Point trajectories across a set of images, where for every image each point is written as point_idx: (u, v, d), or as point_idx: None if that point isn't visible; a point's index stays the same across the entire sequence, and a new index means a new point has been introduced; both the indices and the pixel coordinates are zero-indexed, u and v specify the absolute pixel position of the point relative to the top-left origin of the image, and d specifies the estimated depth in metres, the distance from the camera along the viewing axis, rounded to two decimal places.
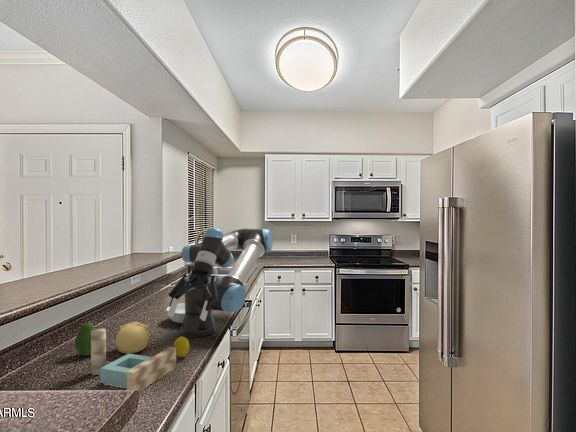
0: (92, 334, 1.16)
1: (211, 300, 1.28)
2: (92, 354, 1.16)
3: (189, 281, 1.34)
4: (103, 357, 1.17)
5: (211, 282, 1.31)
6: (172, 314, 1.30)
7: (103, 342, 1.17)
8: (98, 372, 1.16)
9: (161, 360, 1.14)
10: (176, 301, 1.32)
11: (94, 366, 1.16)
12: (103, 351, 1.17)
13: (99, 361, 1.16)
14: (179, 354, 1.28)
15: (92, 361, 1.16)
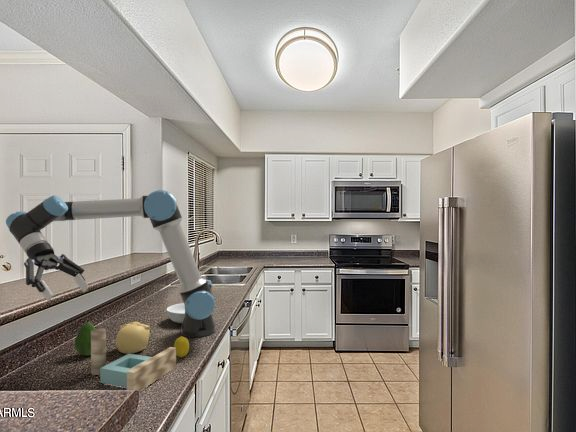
0: (92, 334, 1.16)
1: None
2: (92, 354, 1.16)
3: None
4: (103, 357, 1.17)
5: None
6: (84, 287, 1.28)
7: (103, 342, 1.17)
8: (98, 372, 1.16)
9: (161, 360, 1.14)
10: (76, 277, 1.29)
11: (94, 366, 1.16)
12: (103, 351, 1.17)
13: (99, 361, 1.16)
14: (179, 354, 1.28)
15: (92, 361, 1.16)
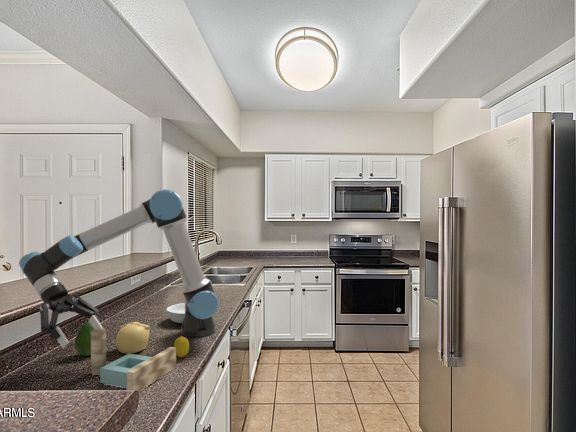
0: (92, 334, 1.16)
1: None
2: (92, 354, 1.16)
3: None
4: (103, 357, 1.17)
5: None
6: None
7: (103, 342, 1.17)
8: (98, 372, 1.16)
9: (161, 360, 1.14)
10: (91, 319, 1.26)
11: (94, 366, 1.16)
12: (103, 351, 1.17)
13: (99, 361, 1.16)
14: (179, 354, 1.28)
15: (92, 361, 1.16)
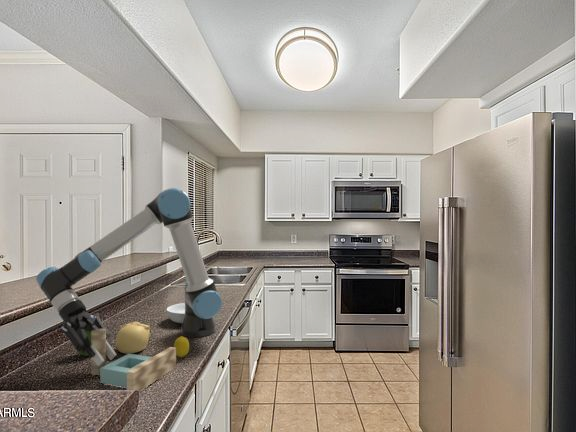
0: (92, 334, 1.16)
1: (85, 350, 1.15)
2: None
3: None
4: (103, 357, 1.17)
5: None
6: (111, 354, 1.19)
7: (103, 342, 1.17)
8: (98, 372, 1.16)
9: (161, 360, 1.14)
10: None
11: (94, 366, 1.16)
12: (103, 351, 1.17)
13: None
14: (179, 354, 1.28)
15: (92, 361, 1.16)
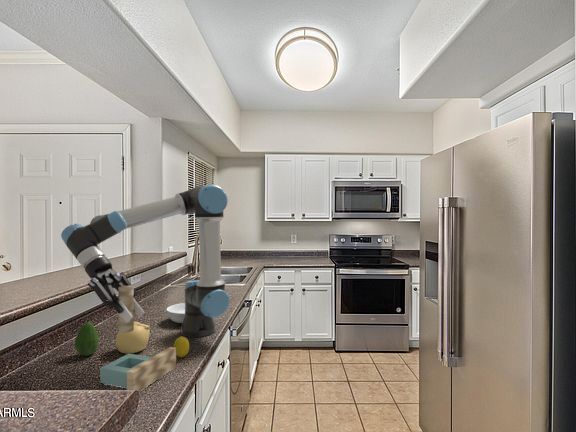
0: (120, 290, 1.12)
1: (113, 305, 1.11)
2: None
3: (111, 284, 1.18)
4: None
5: None
6: (139, 312, 1.15)
7: (131, 298, 1.13)
8: (126, 329, 1.12)
9: (161, 360, 1.14)
10: None
11: (122, 323, 1.12)
12: (131, 308, 1.13)
13: None
14: (179, 354, 1.28)
15: (120, 318, 1.12)
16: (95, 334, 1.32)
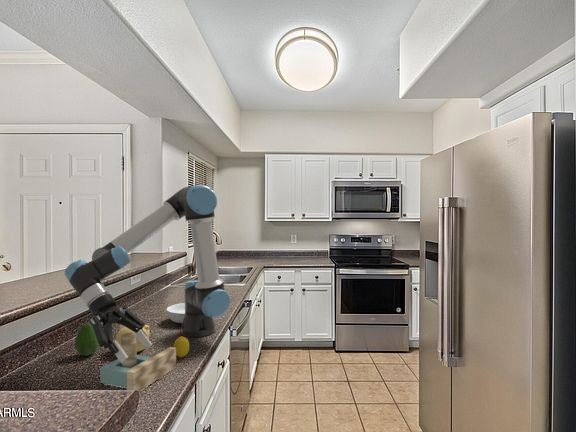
0: (123, 339, 1.12)
1: (106, 345, 1.08)
2: None
3: None
4: (134, 362, 1.13)
5: None
6: (147, 344, 1.18)
7: (134, 347, 1.13)
8: None
9: (161, 360, 1.14)
10: (138, 334, 1.19)
11: None
12: (134, 356, 1.13)
13: (130, 367, 1.12)
14: (179, 354, 1.28)
15: None
16: None
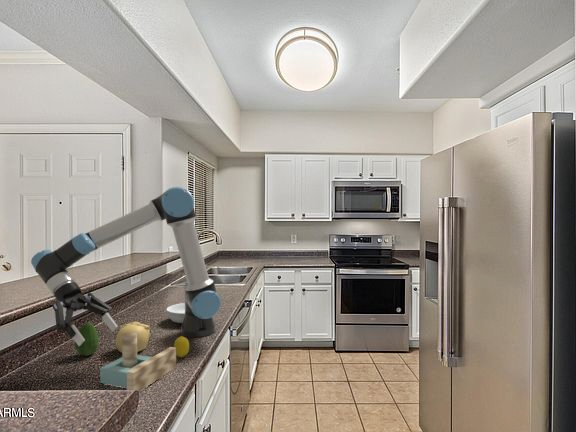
0: (124, 338, 1.12)
1: (64, 329, 1.12)
2: (124, 359, 1.12)
3: None
4: (135, 362, 1.13)
5: None
6: (113, 326, 1.24)
7: (135, 347, 1.13)
8: None
9: (161, 360, 1.14)
10: (105, 317, 1.25)
11: None
12: (135, 356, 1.13)
13: (131, 367, 1.12)
14: (179, 354, 1.28)
15: (124, 366, 1.12)
16: (95, 334, 1.32)
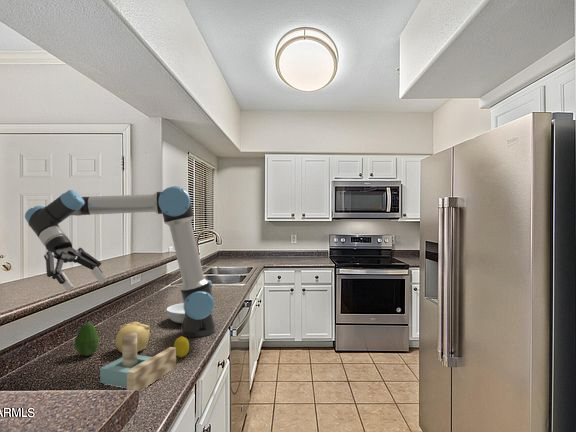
0: (124, 338, 1.12)
1: (54, 276, 1.18)
2: (124, 359, 1.12)
3: None
4: (135, 362, 1.13)
5: None
6: (102, 279, 1.31)
7: (135, 347, 1.13)
8: None
9: (161, 360, 1.14)
10: (94, 270, 1.32)
11: None
12: (135, 356, 1.13)
13: (131, 367, 1.12)
14: (179, 354, 1.28)
15: (124, 366, 1.12)
16: (95, 334, 1.32)
